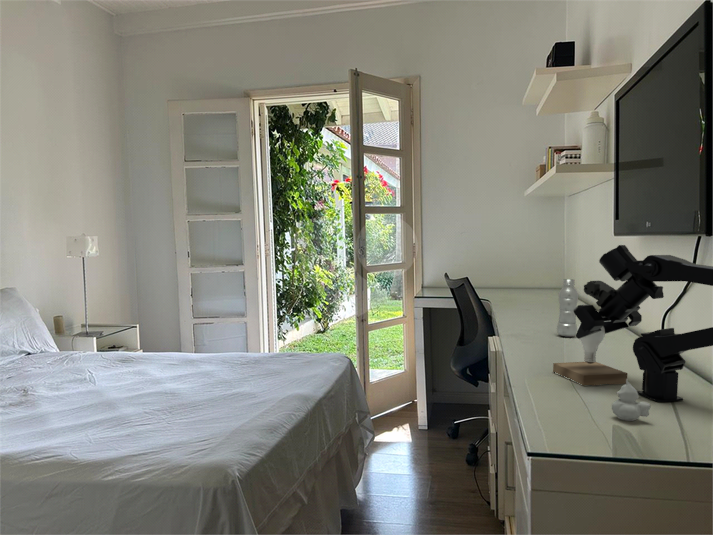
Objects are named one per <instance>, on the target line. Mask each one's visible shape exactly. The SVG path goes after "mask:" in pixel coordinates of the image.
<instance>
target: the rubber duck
mask: <svg viewBox="0 0 713 535" xmlns="http://www.w3.org/2000/svg"><path fill="white" fill-rule="evenodd" d="M637 391H638V390H636V388H635V387H634V386H633V385H632V384H631V382H629V381H628V378H627V379H626V383H625V384H623V385H622V386H621V387H620V390H618V391H616V394H617V396H618V398H617V399H616V400H615V401H613V402H612V403H611V410H612V413H613V414H614V415H615V416H616V417H617V418H618V419H620V420H622V421H627V422H633V421H636V420H638V419H639V418H640V417H643V418H644V417H649V416H650V413H649V410H650V409H651V403H649V402H647V401H639V402H638V401H637V400H638V399H639V397H640V396H639V394H638V393H637Z"/></svg>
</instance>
